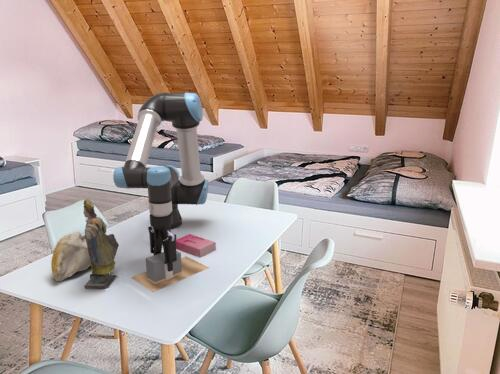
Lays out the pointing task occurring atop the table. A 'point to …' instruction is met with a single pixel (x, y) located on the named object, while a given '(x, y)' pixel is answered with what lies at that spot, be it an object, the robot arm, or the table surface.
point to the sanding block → (161, 267)
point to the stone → (69, 256)
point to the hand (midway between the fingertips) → (164, 275)
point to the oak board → (188, 270)
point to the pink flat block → (195, 245)
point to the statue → (99, 249)
